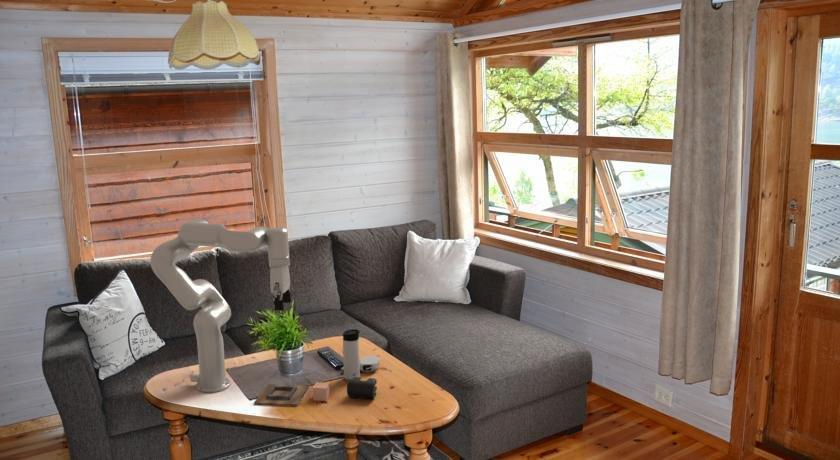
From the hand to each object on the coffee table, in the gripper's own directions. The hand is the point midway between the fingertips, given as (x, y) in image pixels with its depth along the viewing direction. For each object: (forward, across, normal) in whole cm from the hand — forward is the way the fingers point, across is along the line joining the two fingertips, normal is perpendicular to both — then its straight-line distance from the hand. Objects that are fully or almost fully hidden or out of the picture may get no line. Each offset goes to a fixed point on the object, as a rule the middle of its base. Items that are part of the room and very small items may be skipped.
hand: (283, 306), depth 255 cm
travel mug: (+34, -13, +21) cm, 43 cm away
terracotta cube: (+34, +5, +13) cm, 37 cm away
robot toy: (+35, -23, +23) cm, 48 cm away
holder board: (+33, +4, -2) cm, 34 cm away
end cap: (+35, +3, +28) cm, 45 cm away
